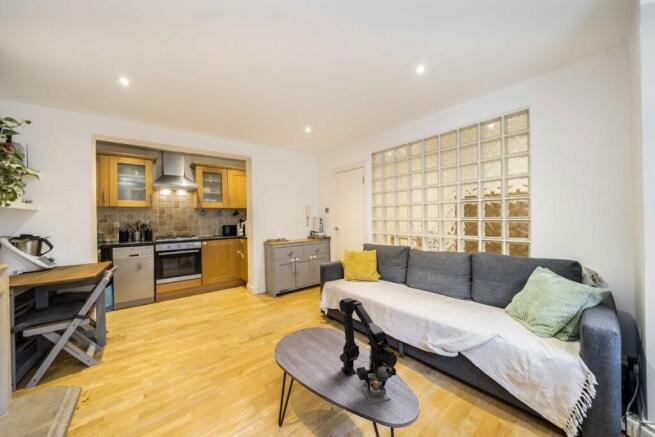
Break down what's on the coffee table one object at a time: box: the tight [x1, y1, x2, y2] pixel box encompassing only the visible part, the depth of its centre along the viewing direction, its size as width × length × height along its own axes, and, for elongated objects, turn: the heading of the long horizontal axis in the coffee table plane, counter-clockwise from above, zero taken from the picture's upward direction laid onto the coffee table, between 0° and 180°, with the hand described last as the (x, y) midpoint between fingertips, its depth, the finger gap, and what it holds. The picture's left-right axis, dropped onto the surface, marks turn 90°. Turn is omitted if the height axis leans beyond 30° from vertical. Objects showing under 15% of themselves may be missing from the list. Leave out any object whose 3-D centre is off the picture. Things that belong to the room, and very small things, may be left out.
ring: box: [365, 380, 387, 397], centre depth 120 cm, size 7×7×2 cm
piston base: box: [362, 380, 391, 404], centre depth 120 cm, size 10×10×6 cm
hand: (375, 388), depth 120 cm, fingers closed on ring, 7 cm apart
